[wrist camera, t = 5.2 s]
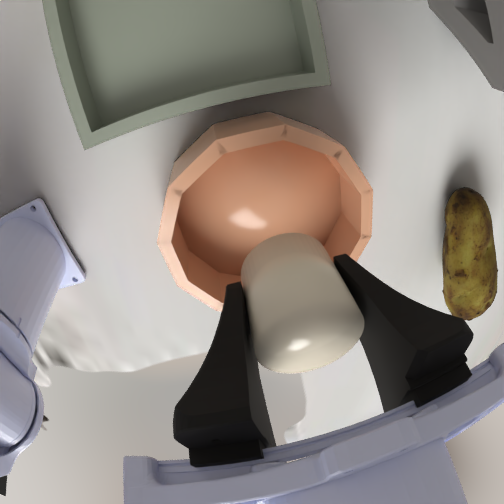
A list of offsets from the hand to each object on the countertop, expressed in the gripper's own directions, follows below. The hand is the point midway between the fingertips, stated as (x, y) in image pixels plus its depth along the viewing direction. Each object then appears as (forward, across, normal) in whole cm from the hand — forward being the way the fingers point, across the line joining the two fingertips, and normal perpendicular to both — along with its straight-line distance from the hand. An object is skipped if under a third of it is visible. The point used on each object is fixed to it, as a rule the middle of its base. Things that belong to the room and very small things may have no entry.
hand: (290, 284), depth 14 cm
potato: (+9, -19, +8) cm, 22 cm away
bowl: (+8, 0, 0) cm, 8 cm away
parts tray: (+8, +2, -15) cm, 17 cm away
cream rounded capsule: (+1, 0, 0) cm, 1 cm away
